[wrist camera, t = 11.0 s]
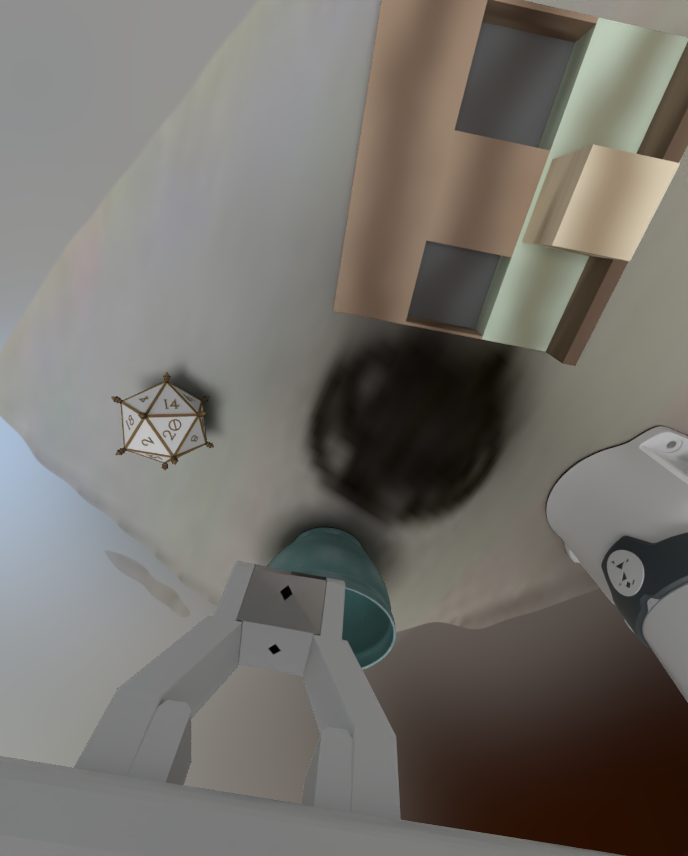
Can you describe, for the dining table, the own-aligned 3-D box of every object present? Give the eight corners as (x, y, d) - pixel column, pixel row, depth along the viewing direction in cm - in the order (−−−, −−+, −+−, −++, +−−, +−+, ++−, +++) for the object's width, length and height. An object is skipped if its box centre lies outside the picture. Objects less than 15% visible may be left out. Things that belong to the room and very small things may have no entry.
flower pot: (383, 598, 51) (387, 682, 42) (269, 588, 52) (247, 670, 42) (397, 510, 43) (405, 589, 34) (262, 500, 44) (233, 575, 34)
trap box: (668, 62, 24) (753, 15, 19) (542, 343, 33) (575, 365, 28) (383, -2, 23) (389, -69, 18) (335, 304, 32) (329, 319, 27)
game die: (190, 375, 41) (147, 341, 31) (243, 429, 40) (216, 413, 30) (126, 431, 39) (60, 415, 29) (180, 488, 39) (131, 491, 29)
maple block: (624, 174, 24) (680, 163, 20) (587, 255, 27) (629, 261, 22) (552, 159, 24) (593, 144, 20) (521, 242, 27) (552, 245, 22)
